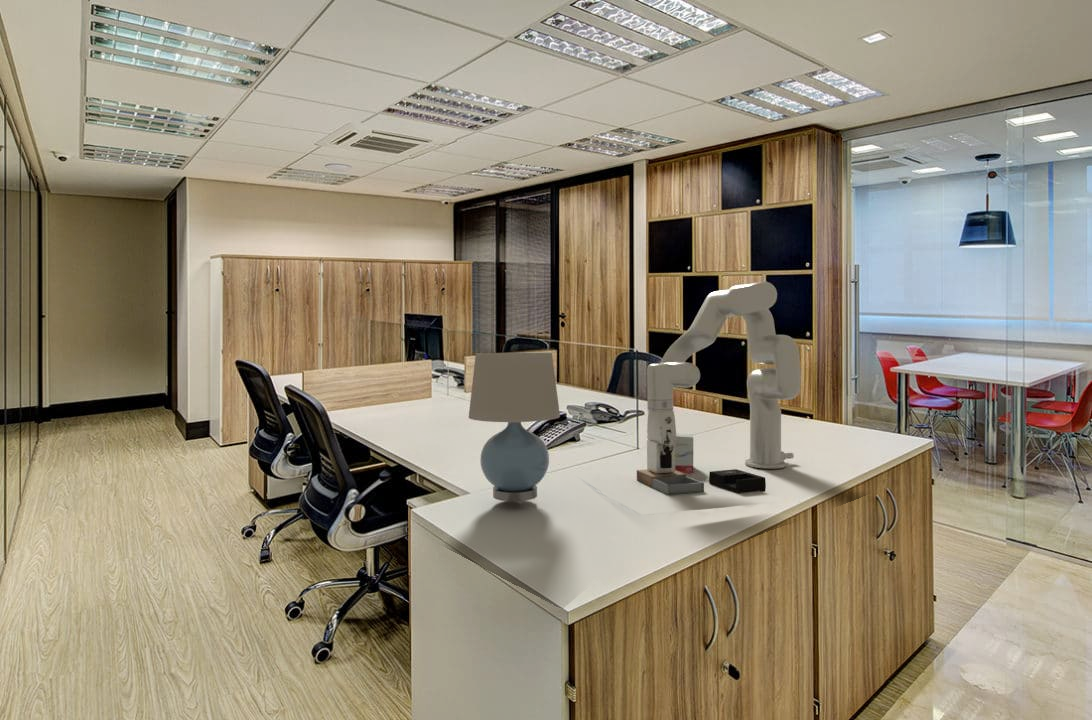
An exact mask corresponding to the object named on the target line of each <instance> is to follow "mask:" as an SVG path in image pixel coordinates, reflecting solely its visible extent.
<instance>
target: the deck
mask: <svg viewBox="0 0 1092 720" xmlns="http://www.w3.org/2000/svg"><path fill="white" fill-rule="evenodd" d="M679 476H687V473H682V472H679V471H676V470H675V472H668V473H654V472H652V471H650V470H647V469H637V470H636V481H638V482H640V483H642V484H644V485H647V486H648V487H650V488H652V487H651V486H652V484H651V482H652V479H653V478H666V477H679ZM651 478H652V479H651Z"/></svg>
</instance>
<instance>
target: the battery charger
mask: <svg viewBox="0 0 1092 720" xmlns="http://www.w3.org/2000/svg"><path fill="white" fill-rule="evenodd" d="M708 479H709V480H708V481H709V485H712V486H714V487H717V488H720V489H723V490H726V491H729V492H732V493H735V494H736V495H737V494H745V493H747V494H748V493H754V492H761V493H765V492H766V487H767V483H766V477H764V476H761V475H758V474H755V473H751V472H747V471H743V470H741V469H737V468H736V469H733V468H732V469H724V470H714V471H709V477H708Z"/></svg>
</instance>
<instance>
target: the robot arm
mask: <svg viewBox="0 0 1092 720" xmlns="http://www.w3.org/2000/svg"><path fill="white" fill-rule="evenodd" d="M777 291H778V290H777V289H776V287H775V286H774V285H773V283H771V282H768V281H757V282H750V283H749V282H748V283H741V284H740V283H739V284H736V285H733V286H731V287H730V288H728V289H720V290H715V291H712V292H710V293H709V294H708V295H707V296H706V298H705V299H704V301H703V303H702V305H701V307H700V308H699V310H698V312H697V314H696V316H695V317H694V320H693V322H692V323H691V325H690V326H689V328H688V329H687V330H686V331H685V332H684V333H683V334H682V335H680V337H678V339H676V340H675V341H674V342H673V343H672V344H671V345H670V346H669V348H668V349H667V350H666V352H665V353H664V355H663V357H662V358H661V360H660V362H659V363H650V364H649V365H648V366H647V368H646V383H647V387H646V391H647V399H646V400H647V402H646V403H647V408H646V409H647V412H648V413H647V424H646V425H647V426H646V428H647V430H646V433H647V434H646V435H647V436H646V439H647V440H651V441H654V442H657V443H659V444H660V445H661V449H662V454H663V455H661V468H663V469H664V468H671V467H672V453H673V452H672V451H673V448H674V447H675V443H676V433H677V426H676V417H675V412H674V388H675V387H677V388H691V387H694V386H695V385H696V384H697V383H698V382H699V381H700V379H701V372H700V369H699V368H698V366H697V365H695V364H694V363H691V362H686V361H687V360H688V359H689V358H690V357H692V355H694V354H695V353H697V352H700V351H701V350H704V349H705V348H708V347H709V346H710V345H713V343H714V342H715V341H716V340H717V338H718V336H719V334H720V332H721V329H722V328H723V326H724V324H725V322H726V321H727V319H728V318H732V317H733V318H734V317H735V318H736V317H742V318H743V320H744V323H745V325H746V333H747V345H748V352H749V353H748V354H749V358H750V360H751V361H752V362H753V363H754V364H757V365H765V366H767V365H768V366H774V368H766V367H765V368H757V369H754V370H752V371H751V372H750V373H749V375H748V376H747V379H746V388H747V393H748V399H749V411H750V412H749V413H750V414H749V426H750V428H749V458H748V459H745V461H744V464H745V465H746V466H748V467H750V468H756V469H757V468H758V469H766V470H767V469H770V470H773V469H775V470H776V469H783V468H786V467H787V462H786V461H785V460H786V459H787V460H789V459H794V456H795V455H794V453H793V452H787V453H786V452H785V451H782V408H781V406H780V403H779V402H778V401H779V400H786V401H787V400H789V401H790V400H793V399H795V398H796V397H797V396H799V394H800V392H801V388H802V376H801V375H802V374H801V362H800V361H801V360H800V359H801V358H800V351H799V346H798V344H797V341H796V340H795V339H794V338H793V337H791V336H789V335H788V334H787V335H786V334H777V333H776V328H775V320H774V317H773V315H772V312H771V311H770V308H771V307H773V306H774V305H775V304H776V302H777V300H778V299H777V298H778V292H777ZM664 442H669V443H667V444H664ZM665 446H667V447H666V449H665Z"/></svg>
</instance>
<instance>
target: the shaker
mask: <svg viewBox="0 0 1092 720" xmlns="http://www.w3.org/2000/svg"><path fill="white" fill-rule="evenodd" d="M667 443H669V442H664V444H667ZM666 447H667V446H665V449H666ZM672 452H673V453H672V467H671V468H664V469H663V468H661V455H663V454H662V449H661V445H660V444H659V443H657V442H654V441H651V440H648V439H647V440H646V462H647V463H646V466H647V467H646V470H650V471H652V472H654V473H668V472H675V447H674V448H673V451H672Z"/></svg>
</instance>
